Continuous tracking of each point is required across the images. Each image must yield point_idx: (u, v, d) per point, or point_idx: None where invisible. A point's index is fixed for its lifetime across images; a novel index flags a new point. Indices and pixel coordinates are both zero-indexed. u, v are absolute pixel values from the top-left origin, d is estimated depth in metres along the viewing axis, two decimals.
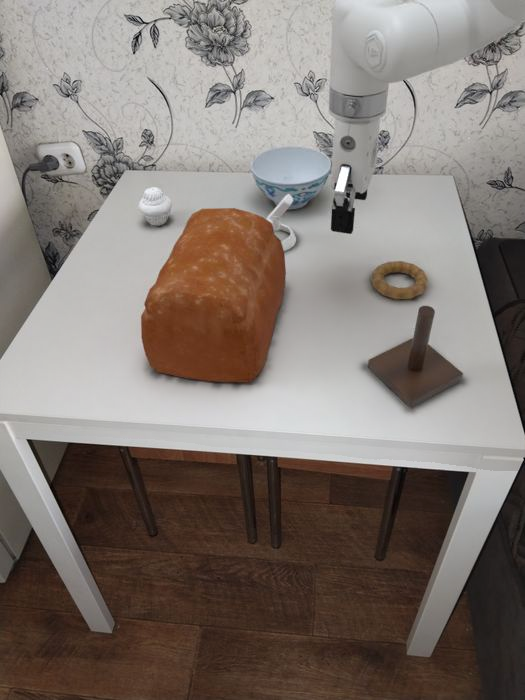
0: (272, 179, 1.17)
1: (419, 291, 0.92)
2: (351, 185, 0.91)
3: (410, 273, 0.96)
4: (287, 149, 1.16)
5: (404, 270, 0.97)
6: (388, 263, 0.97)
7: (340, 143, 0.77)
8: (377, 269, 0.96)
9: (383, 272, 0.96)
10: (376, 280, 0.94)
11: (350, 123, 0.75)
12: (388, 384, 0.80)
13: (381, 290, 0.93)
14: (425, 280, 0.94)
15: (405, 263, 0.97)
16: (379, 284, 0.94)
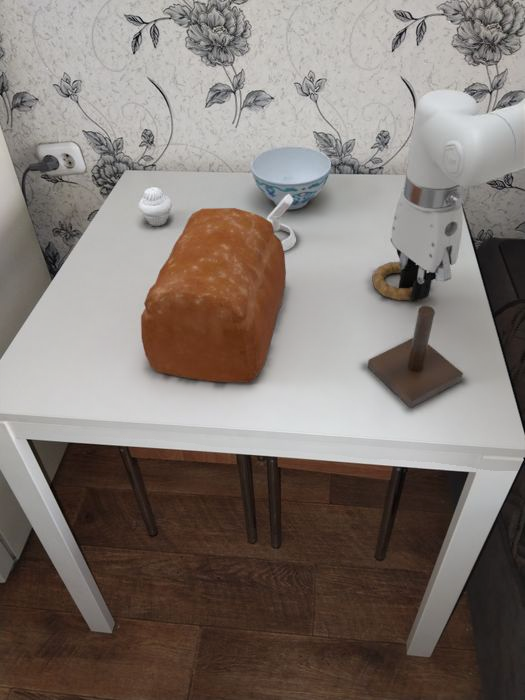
0: (272, 179, 1.17)
1: None
2: (406, 279, 0.92)
3: None
4: (287, 149, 1.16)
5: None
6: (389, 264, 0.97)
7: None
8: (378, 270, 0.96)
9: (384, 273, 0.96)
10: (376, 280, 0.94)
11: (451, 210, 0.79)
12: (388, 384, 0.80)
13: (382, 290, 0.93)
14: None
15: None
16: (379, 285, 0.93)
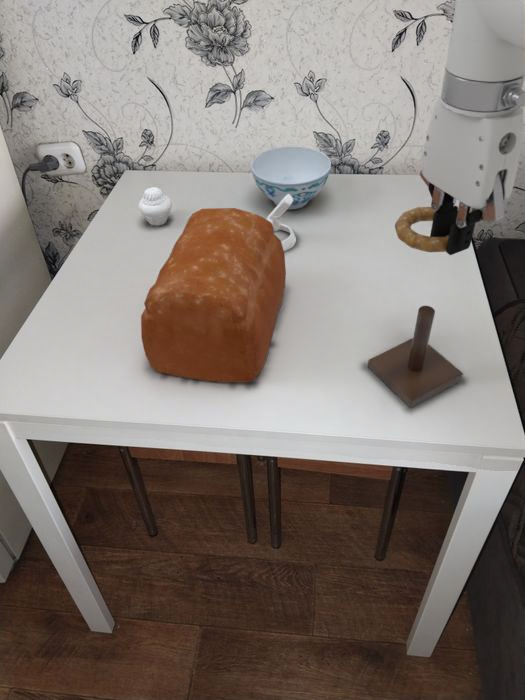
0: (272, 179, 1.17)
1: None
2: (441, 226, 0.70)
3: None
4: (287, 149, 1.16)
5: None
6: (417, 209, 0.75)
7: None
8: (402, 216, 0.74)
9: (410, 219, 0.74)
10: (401, 228, 0.72)
11: (508, 116, 0.57)
12: (388, 384, 0.80)
13: (408, 240, 0.71)
14: None
15: None
16: (405, 233, 0.71)
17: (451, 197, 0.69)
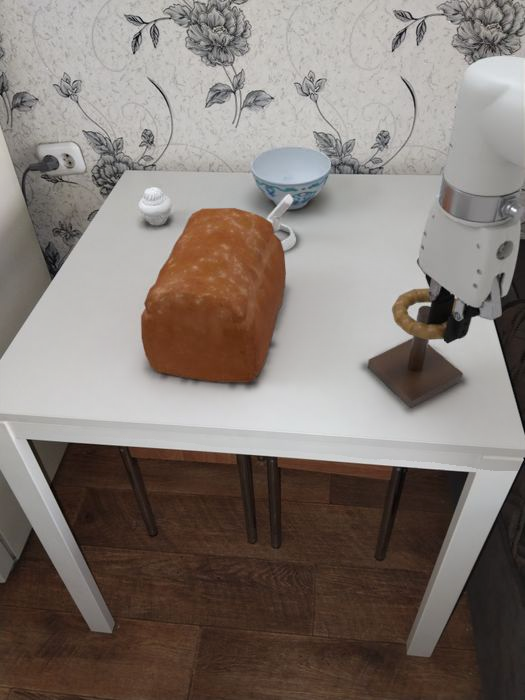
0: (272, 179, 1.17)
1: None
2: (438, 313, 0.70)
3: None
4: (287, 149, 1.16)
5: None
6: (413, 291, 0.75)
7: None
8: (399, 299, 0.74)
9: (407, 303, 0.74)
10: (398, 314, 0.72)
11: (506, 225, 0.57)
12: (388, 384, 0.80)
13: (406, 327, 0.71)
14: None
15: None
16: (402, 320, 0.72)
17: None
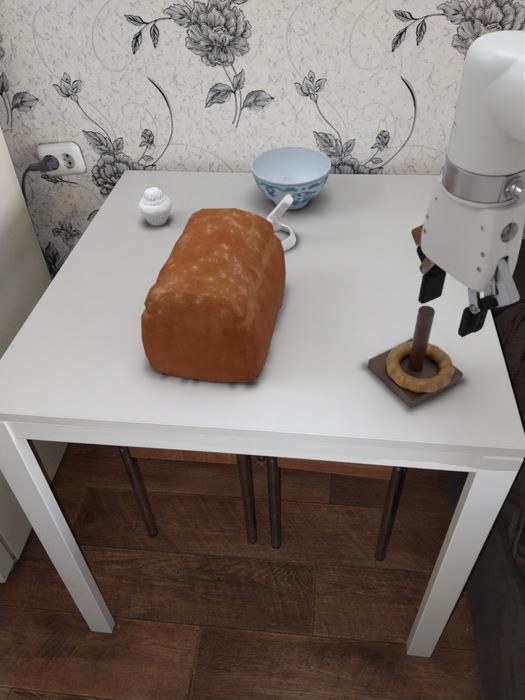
0: (272, 179, 1.17)
1: (444, 383, 0.76)
2: (429, 288, 0.70)
3: (432, 357, 0.80)
4: (287, 149, 1.16)
5: None
6: (406, 344, 0.81)
7: None
8: (393, 352, 0.80)
9: (400, 356, 0.80)
10: (391, 367, 0.78)
11: (511, 206, 0.56)
12: (388, 384, 0.80)
13: (398, 380, 0.77)
14: (451, 368, 0.78)
15: None
16: (395, 373, 0.78)
17: None
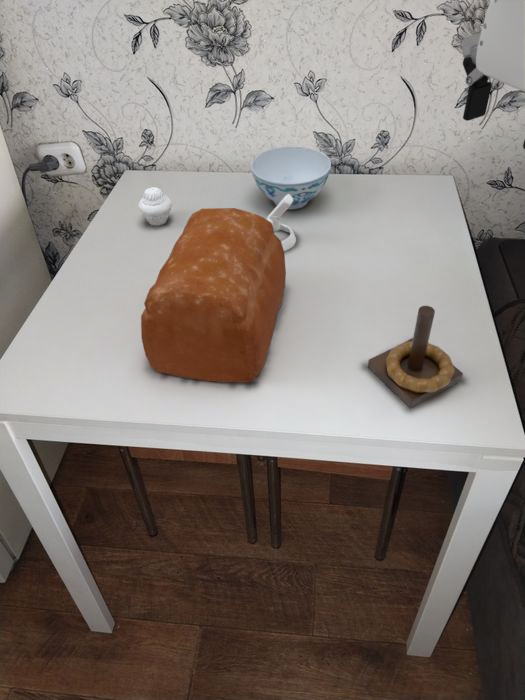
0: (272, 179, 1.17)
1: (444, 383, 0.76)
2: (475, 101, 0.72)
3: (432, 357, 0.80)
4: (287, 149, 1.16)
5: None
6: (406, 344, 0.81)
7: None
8: (393, 352, 0.80)
9: (400, 356, 0.80)
10: (391, 367, 0.78)
11: None
12: (388, 384, 0.80)
13: (398, 380, 0.77)
14: (451, 368, 0.78)
15: None
16: (395, 373, 0.78)
17: (487, 75, 0.71)
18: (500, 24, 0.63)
